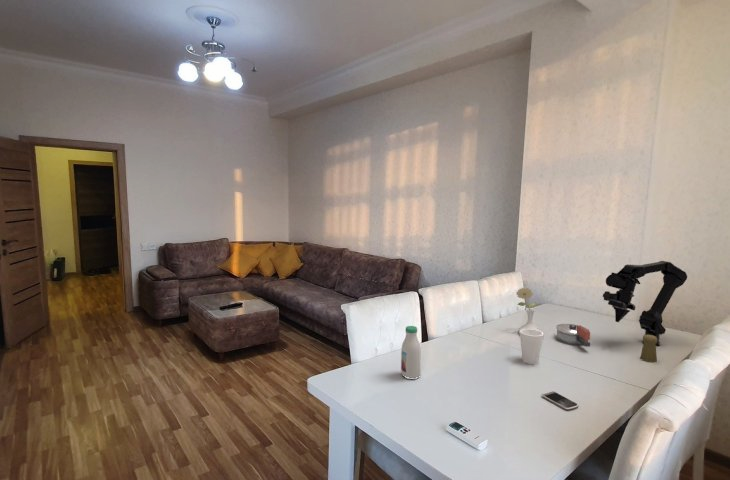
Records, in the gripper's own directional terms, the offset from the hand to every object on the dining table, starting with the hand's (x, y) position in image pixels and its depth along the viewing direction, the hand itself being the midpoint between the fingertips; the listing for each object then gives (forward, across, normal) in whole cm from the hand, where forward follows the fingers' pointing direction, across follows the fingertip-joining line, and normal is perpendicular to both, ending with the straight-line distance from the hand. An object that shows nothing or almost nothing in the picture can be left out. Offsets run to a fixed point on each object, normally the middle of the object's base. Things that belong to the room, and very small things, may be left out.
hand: (616, 321), depth 183 cm
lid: (+11, +10, -12) cm, 19 cm away
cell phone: (+28, +69, +11) cm, 75 cm away
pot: (+16, +7, -13) cm, 21 cm away
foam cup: (+25, +45, -14) cm, 53 cm away
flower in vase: (+20, +15, -32) cm, 41 cm away
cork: (+11, +3, +16) cm, 20 cm away
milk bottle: (+39, +94, -35) cm, 108 cm away
